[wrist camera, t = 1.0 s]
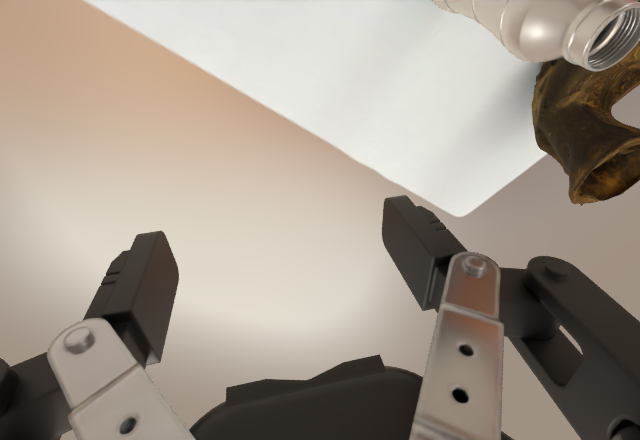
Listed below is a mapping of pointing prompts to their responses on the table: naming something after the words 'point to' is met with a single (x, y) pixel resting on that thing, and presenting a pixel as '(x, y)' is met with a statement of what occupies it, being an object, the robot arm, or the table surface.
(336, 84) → the table surface
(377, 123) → the table surface
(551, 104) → the pottery vessel
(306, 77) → the table surface
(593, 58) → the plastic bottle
